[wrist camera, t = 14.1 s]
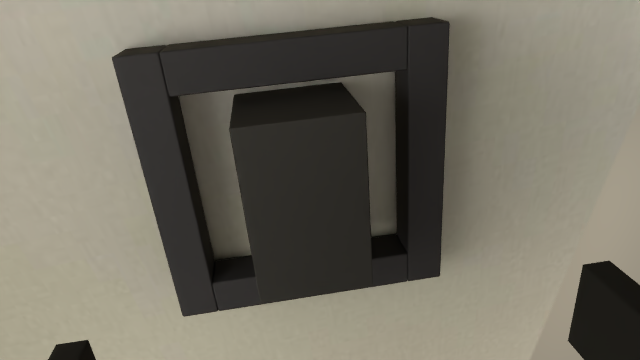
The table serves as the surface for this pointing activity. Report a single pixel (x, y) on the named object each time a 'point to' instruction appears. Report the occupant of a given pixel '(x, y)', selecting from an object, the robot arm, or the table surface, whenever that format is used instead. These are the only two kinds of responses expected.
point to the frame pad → (280, 68)
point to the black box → (304, 189)
